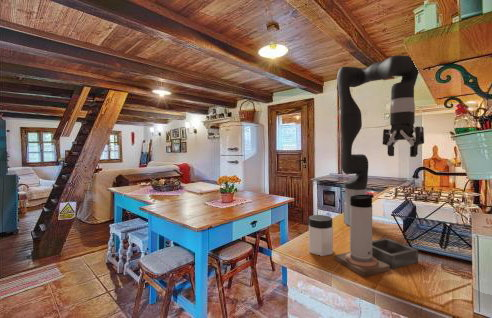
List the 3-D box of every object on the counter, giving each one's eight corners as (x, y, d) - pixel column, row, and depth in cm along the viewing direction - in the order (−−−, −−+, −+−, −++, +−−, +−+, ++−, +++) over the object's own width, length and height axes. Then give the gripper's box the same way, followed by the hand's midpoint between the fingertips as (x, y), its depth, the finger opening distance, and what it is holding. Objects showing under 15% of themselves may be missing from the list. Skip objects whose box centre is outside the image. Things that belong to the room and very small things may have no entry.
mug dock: (334, 259, 82) (334, 247, 81) (385, 248, 90) (385, 237, 89) (364, 277, 70) (364, 263, 70) (418, 262, 78) (419, 250, 78)
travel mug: (376, 263, 74) (376, 196, 73) (352, 261, 75) (352, 196, 74) (370, 254, 80) (370, 193, 79) (348, 253, 81) (348, 192, 81)
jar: (323, 245, 94) (323, 213, 93) (338, 253, 86) (338, 219, 86) (303, 248, 91) (303, 216, 90) (316, 257, 83) (316, 222, 83)
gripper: (377, 114, 95) (377, 156, 96) (414, 108, 82) (413, 157, 83) (391, 114, 98) (391, 155, 99) (429, 109, 85) (428, 156, 86)
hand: (401, 156), depth 91 cm, fingers open, 8 cm apart
